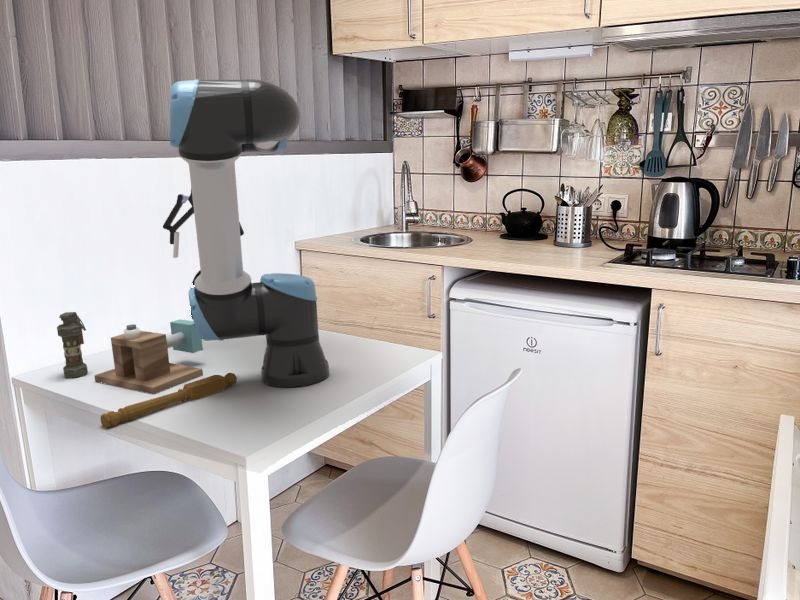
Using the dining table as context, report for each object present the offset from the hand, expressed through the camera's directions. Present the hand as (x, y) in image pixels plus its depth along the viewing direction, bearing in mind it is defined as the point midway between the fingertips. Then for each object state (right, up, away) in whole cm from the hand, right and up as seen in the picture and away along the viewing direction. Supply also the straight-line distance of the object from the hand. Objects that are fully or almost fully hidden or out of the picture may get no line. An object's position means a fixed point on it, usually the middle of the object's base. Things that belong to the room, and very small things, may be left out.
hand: (202, 259), depth 177 cm
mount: (-6, -29, -21) cm, 36 cm away
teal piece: (-2, -24, -16) cm, 29 cm away
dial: (-8, -19, -26) cm, 33 cm away
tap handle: (+6, -32, -38) cm, 50 cm away
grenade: (-25, -28, -16) cm, 41 cm away
